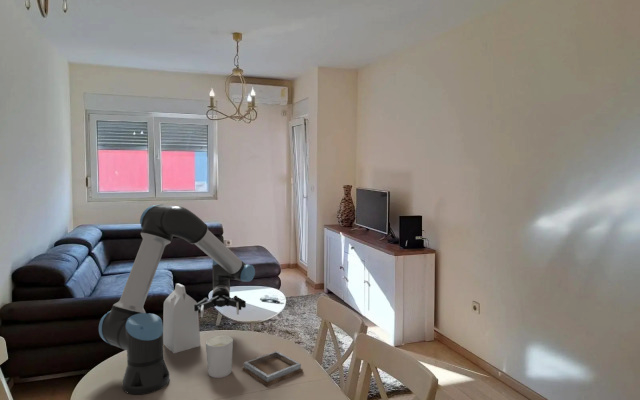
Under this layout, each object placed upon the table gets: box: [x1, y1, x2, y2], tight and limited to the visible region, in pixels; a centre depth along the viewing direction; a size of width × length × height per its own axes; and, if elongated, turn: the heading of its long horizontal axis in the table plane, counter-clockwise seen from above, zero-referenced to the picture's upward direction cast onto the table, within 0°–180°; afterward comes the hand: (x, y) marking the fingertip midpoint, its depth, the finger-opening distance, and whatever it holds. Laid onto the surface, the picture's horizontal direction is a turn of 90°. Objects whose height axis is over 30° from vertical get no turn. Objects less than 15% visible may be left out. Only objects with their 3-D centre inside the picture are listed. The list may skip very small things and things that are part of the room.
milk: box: [162, 283, 201, 354], centre depth 179 cm, size 12×12×26 cm
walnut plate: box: [241, 357, 304, 387], centre depth 156 cm, size 16×16×1 cm
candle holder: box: [205, 335, 234, 379], centre depth 155 cm, size 10×10×12 cm
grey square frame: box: [243, 350, 302, 383], centre depth 156 cm, size 15×15×2 cm
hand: (219, 312), depth 163 cm, fingers open, 13 cm apart
